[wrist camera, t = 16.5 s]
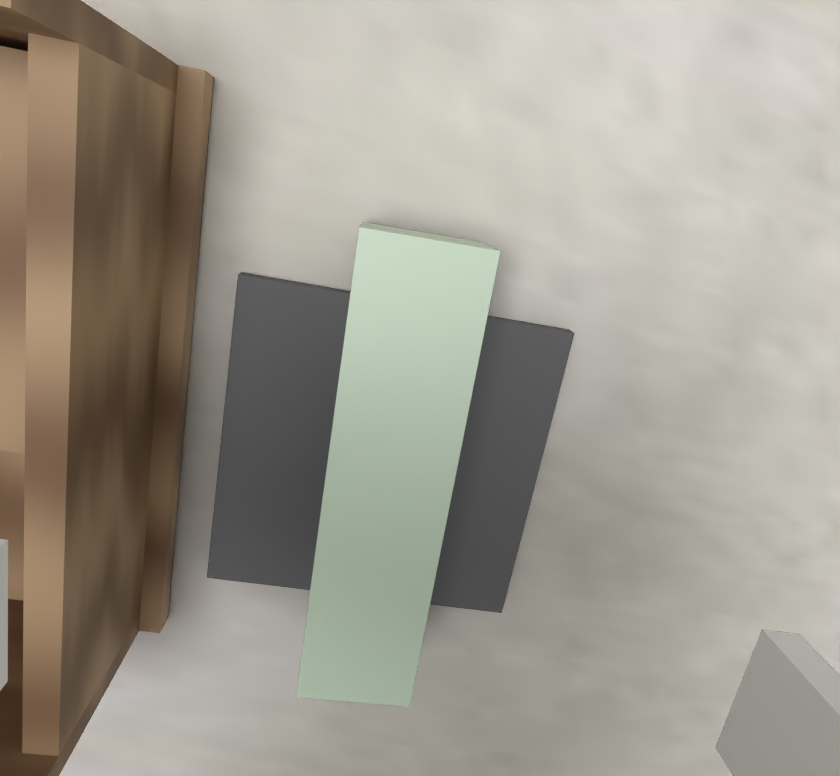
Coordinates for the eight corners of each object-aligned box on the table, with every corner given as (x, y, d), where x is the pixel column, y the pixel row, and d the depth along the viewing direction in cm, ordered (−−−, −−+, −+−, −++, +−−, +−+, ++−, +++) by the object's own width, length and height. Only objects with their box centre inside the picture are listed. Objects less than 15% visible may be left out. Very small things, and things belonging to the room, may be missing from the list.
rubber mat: (498, 603, 26) (501, 612, 26) (210, 568, 25) (207, 577, 24) (569, 330, 23) (574, 333, 23) (241, 272, 22) (237, 274, 21)
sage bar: (404, 631, 26) (409, 707, 22) (307, 622, 25) (295, 697, 22) (478, 241, 21) (500, 251, 18) (362, 221, 21) (359, 227, 17)
